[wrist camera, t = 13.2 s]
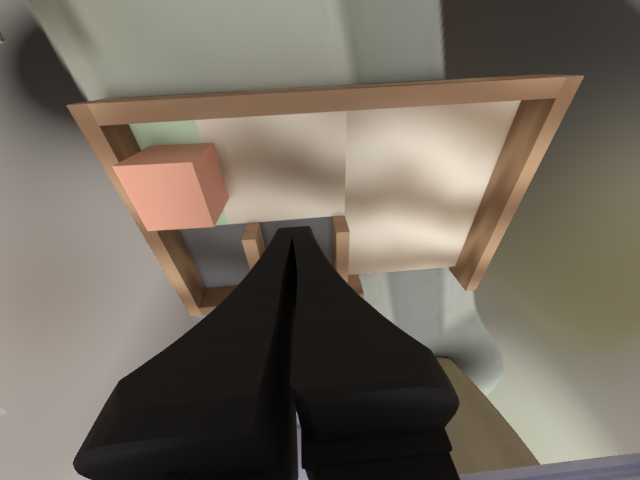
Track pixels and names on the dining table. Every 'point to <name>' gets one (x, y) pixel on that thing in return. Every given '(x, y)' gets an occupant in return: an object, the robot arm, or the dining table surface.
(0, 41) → the syrup box
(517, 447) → the plant pot
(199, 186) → the coral block
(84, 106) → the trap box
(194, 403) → the robot arm
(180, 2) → the dining table surface
